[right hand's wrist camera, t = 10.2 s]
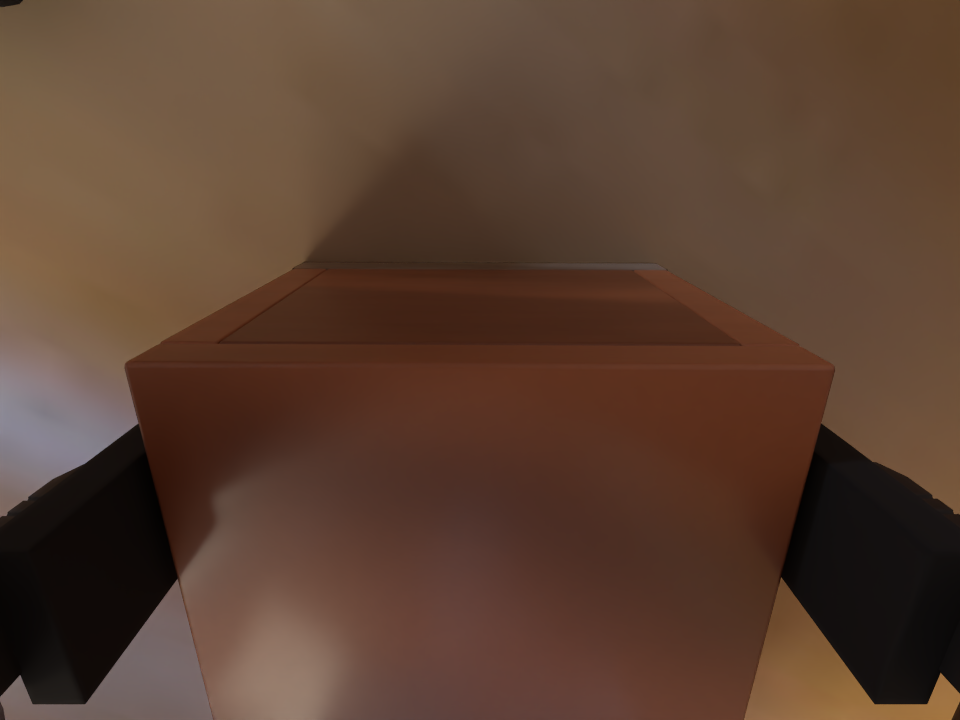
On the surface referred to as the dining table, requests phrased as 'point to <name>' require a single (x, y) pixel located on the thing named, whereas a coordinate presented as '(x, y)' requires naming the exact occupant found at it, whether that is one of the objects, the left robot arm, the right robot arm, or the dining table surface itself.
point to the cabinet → (479, 491)
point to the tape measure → (9, 2)
